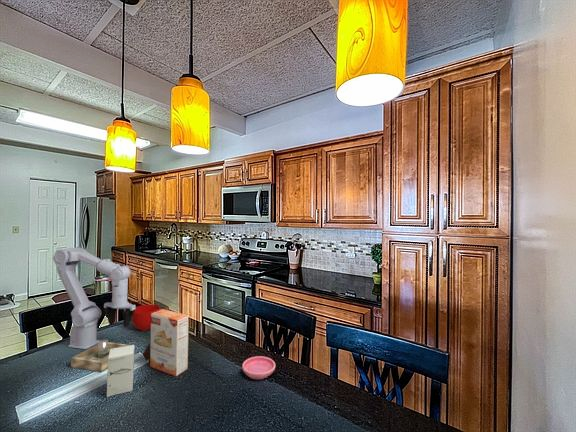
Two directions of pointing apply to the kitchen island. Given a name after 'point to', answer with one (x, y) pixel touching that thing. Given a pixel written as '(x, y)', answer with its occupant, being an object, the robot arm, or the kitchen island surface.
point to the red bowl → (144, 316)
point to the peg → (102, 348)
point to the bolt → (147, 353)
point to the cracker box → (169, 342)
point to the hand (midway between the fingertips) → (119, 325)
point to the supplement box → (120, 370)
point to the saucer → (258, 367)
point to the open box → (93, 359)
